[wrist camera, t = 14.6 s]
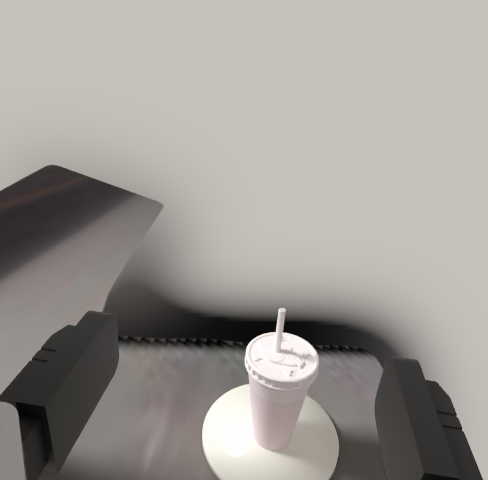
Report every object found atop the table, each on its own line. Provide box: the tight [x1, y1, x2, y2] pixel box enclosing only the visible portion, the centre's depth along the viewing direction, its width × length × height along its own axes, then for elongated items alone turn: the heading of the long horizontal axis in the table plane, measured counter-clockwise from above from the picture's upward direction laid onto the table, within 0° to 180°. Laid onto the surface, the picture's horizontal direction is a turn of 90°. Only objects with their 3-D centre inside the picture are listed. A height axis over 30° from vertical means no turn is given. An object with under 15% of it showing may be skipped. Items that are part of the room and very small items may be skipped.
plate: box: [202, 384, 339, 480], centre depth 40 cm, size 13×13×1 cm
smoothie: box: [245, 308, 319, 451], centre depth 37 cm, size 6×6×14 cm
